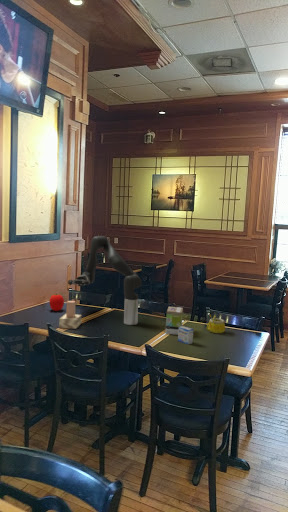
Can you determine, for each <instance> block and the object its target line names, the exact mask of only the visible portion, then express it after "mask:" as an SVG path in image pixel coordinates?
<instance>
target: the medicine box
mask: <svg viewBox="0 0 288 512" xmlns="http://www.w3.org/2000/svg"><path fill="white" fill-rule="evenodd" d="M193 338H194V328H190V327H187V326H184V325H182V326H181V327H179V332H178V336H177V341H178V342H179V343H182V344H186V345H191V344H193V340H194V339H193Z"/></svg>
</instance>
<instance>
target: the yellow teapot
mask: <svg viewBox="0 0 288 512" xmlns="http://www.w3.org/2000/svg"><path fill="white" fill-rule="evenodd" d="M209 316H210V319H209V322H208V323H207V325H206V330H207V331H208V332H211V333H213V334H223V333H225V330H226V324H225V320H224V319H222V318H217V316H216V315H214V316H213V318H212V315H211V314H209Z"/></svg>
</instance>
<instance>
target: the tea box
mask: <svg viewBox="0 0 288 512" xmlns="http://www.w3.org/2000/svg"><path fill="white" fill-rule="evenodd" d="M183 314H184V308H183V307H181V306H180V307H178V306H168V308H167V310H166V316H165V317H166V320H165V330H164V331H165V334H166V335H178V332H179V327H181V326H183V317H184V316H183Z"/></svg>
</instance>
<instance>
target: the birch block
mask: <svg viewBox="0 0 288 512" xmlns="http://www.w3.org/2000/svg"><path fill="white" fill-rule="evenodd" d="M58 319H59V321H58V322H59V323H58V324H59V325H58V327H59V328H60V329H74V330H77V328H79V326H80V325H81V324H82V314H76V313H75V317H73V318H71V317H66V313H64V314H63V315H62V316H61V317H60V318H58Z"/></svg>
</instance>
